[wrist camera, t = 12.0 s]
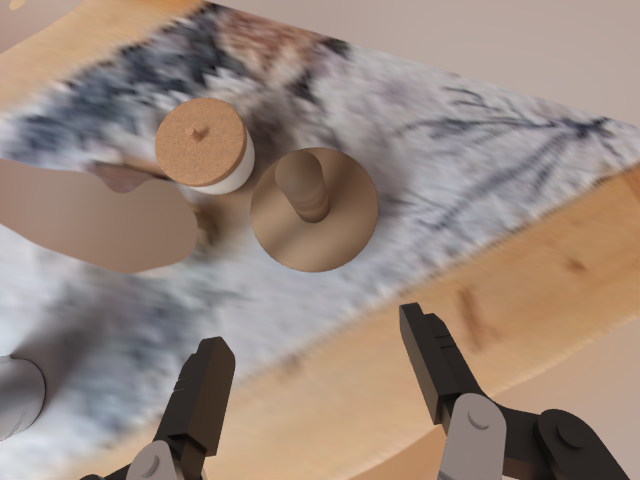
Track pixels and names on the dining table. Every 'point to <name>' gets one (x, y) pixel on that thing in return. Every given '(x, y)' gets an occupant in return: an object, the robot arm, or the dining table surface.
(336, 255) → the walnut lid
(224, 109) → the lidded jar
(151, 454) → the robot arm
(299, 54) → the dining table surface
